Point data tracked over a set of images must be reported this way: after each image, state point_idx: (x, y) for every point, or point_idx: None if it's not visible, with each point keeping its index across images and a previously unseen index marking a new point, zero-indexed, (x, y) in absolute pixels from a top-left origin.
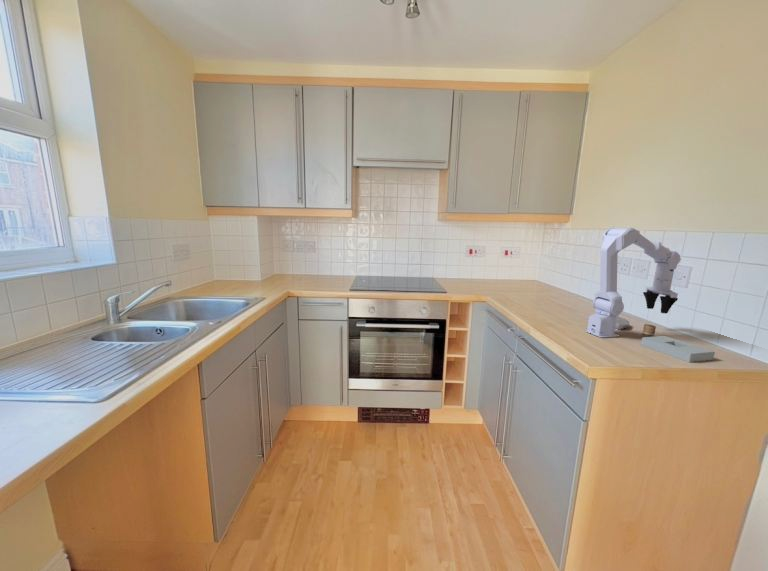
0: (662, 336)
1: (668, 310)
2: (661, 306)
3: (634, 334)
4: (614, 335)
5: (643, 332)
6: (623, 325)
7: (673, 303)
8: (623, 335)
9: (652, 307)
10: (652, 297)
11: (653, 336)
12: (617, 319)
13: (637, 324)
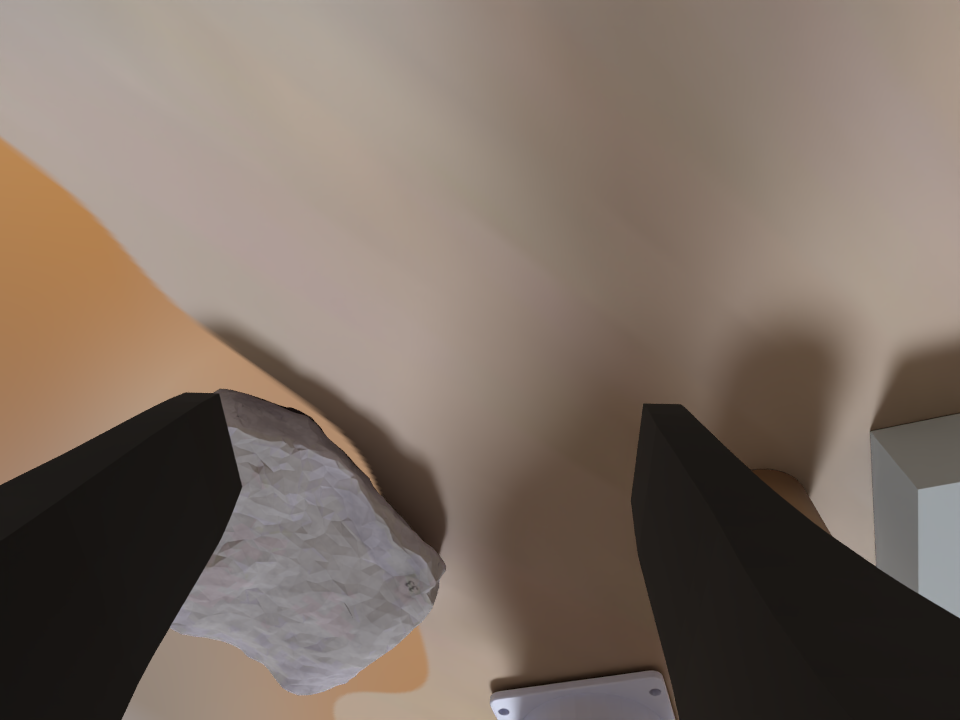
0: (936, 526)
1: (720, 450)
2: (678, 664)
3: (574, 509)
4: (665, 711)
5: None
6: (435, 577)
7: (931, 613)
8: (615, 615)
9: (204, 424)
10: (10, 715)
11: (831, 535)
12: (258, 567)
13: (78, 186)
